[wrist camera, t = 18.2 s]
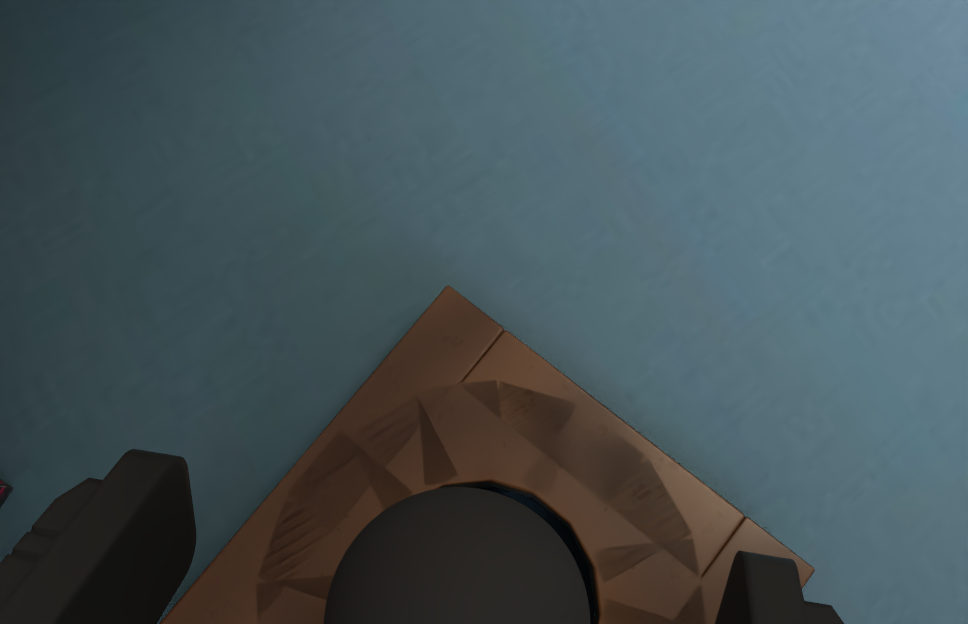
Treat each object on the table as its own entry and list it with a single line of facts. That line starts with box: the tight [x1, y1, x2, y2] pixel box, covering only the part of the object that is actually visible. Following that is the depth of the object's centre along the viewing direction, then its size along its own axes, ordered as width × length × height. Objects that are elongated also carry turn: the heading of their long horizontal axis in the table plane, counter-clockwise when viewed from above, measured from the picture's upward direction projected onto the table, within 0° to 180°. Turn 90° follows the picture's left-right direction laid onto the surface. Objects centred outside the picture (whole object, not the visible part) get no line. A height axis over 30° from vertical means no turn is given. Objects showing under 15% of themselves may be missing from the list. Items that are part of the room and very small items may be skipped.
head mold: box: [324, 487, 590, 624], centre depth 19 cm, size 5×5×10 cm
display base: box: [159, 286, 815, 624], centre depth 23 cm, size 12×12×2 cm
